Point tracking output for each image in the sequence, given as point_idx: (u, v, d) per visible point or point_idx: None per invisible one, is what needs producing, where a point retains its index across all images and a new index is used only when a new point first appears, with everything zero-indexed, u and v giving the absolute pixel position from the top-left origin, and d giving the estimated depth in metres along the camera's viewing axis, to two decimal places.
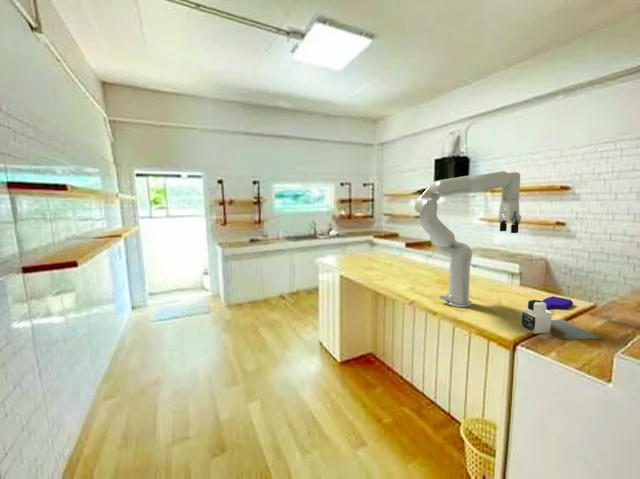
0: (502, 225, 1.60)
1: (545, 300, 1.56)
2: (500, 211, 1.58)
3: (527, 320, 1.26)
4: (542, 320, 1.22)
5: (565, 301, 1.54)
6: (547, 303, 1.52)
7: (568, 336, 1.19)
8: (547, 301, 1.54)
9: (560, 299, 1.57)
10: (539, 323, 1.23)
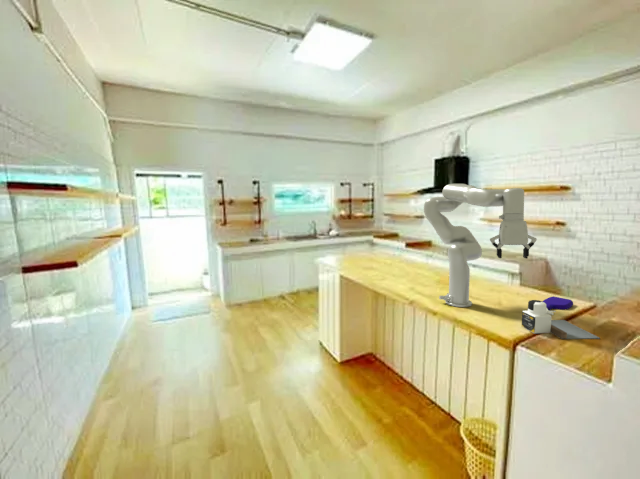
0: None
1: (546, 300, 1.55)
2: (505, 234, 1.30)
3: (527, 320, 1.26)
4: (542, 320, 1.22)
5: (565, 301, 1.53)
6: (548, 303, 1.51)
7: (568, 336, 1.19)
8: (548, 302, 1.53)
9: (560, 299, 1.57)
10: (539, 323, 1.23)
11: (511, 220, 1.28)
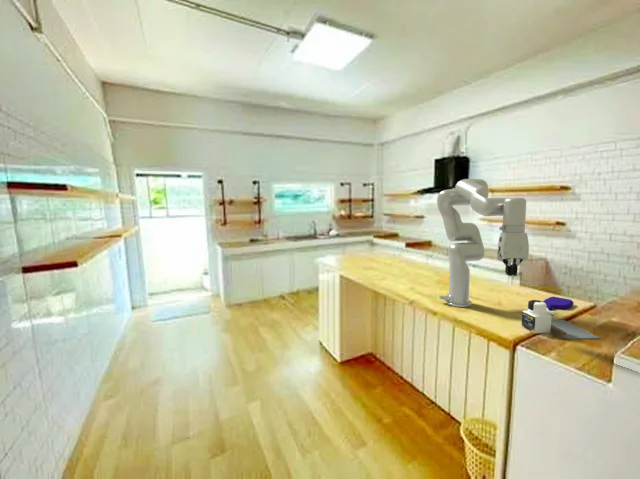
0: None
1: (546, 300, 1.55)
2: (507, 247, 1.20)
3: (527, 320, 1.26)
4: (542, 320, 1.22)
5: (566, 301, 1.53)
6: (548, 303, 1.51)
7: (568, 336, 1.19)
8: (549, 302, 1.53)
9: (560, 299, 1.56)
10: (539, 323, 1.23)
11: (514, 232, 1.19)
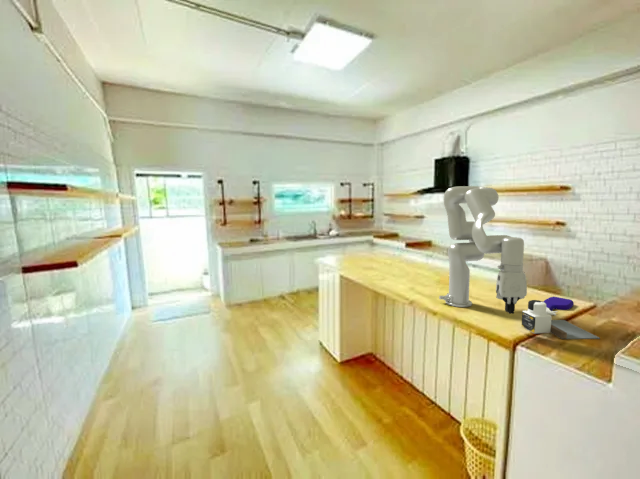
0: None
1: (547, 300, 1.55)
2: (506, 286, 1.22)
3: (527, 320, 1.26)
4: (542, 320, 1.22)
5: (566, 301, 1.53)
6: (549, 304, 1.51)
7: (568, 336, 1.19)
8: (549, 302, 1.53)
9: (561, 299, 1.56)
10: (539, 323, 1.23)
11: (512, 272, 1.21)
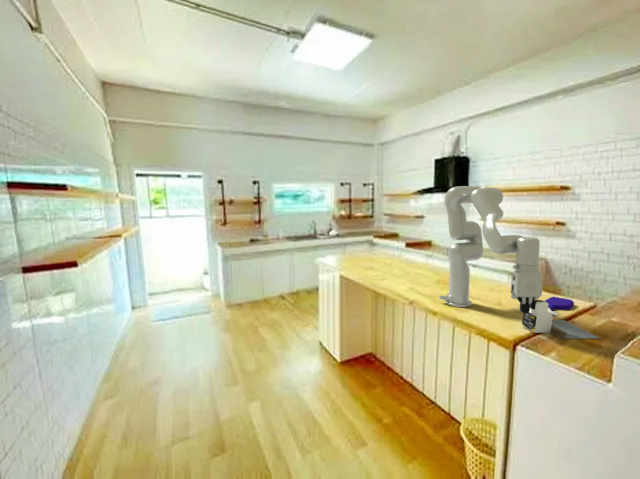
0: None
1: (547, 301, 1.55)
2: (521, 286, 1.22)
3: (528, 319, 1.26)
4: (543, 320, 1.22)
5: (566, 301, 1.53)
6: (550, 304, 1.50)
7: (568, 336, 1.19)
8: (550, 302, 1.52)
9: (561, 299, 1.56)
10: (540, 322, 1.22)
11: (528, 272, 1.20)
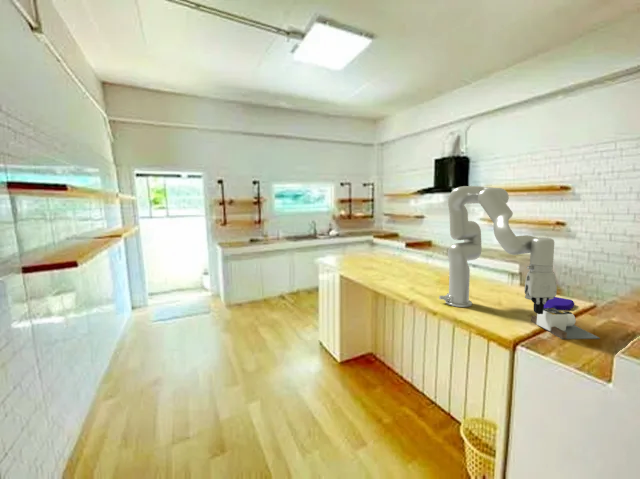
0: None
1: (548, 301, 1.54)
2: (535, 287, 1.22)
3: (553, 310, 1.27)
4: (563, 321, 1.23)
5: (567, 301, 1.53)
6: (551, 304, 1.50)
7: (568, 336, 1.19)
8: (551, 302, 1.52)
9: (561, 299, 1.56)
10: (560, 318, 1.23)
11: (542, 272, 1.20)
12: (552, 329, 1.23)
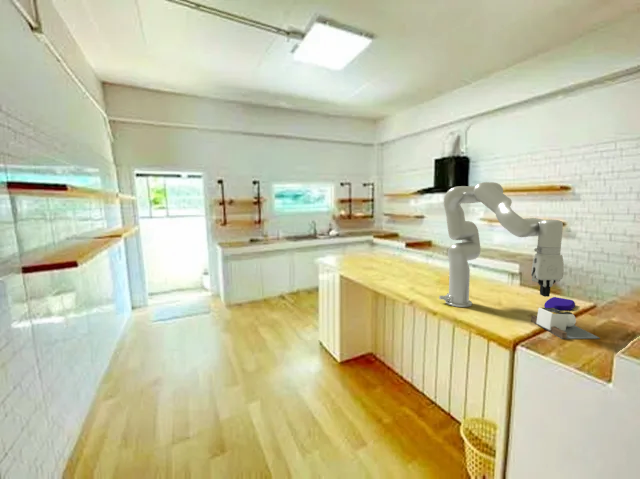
0: None
1: (549, 301, 1.54)
2: (543, 269, 1.21)
3: (553, 310, 1.27)
4: (563, 321, 1.23)
5: (568, 301, 1.53)
6: (552, 304, 1.50)
7: (568, 336, 1.19)
8: (552, 303, 1.52)
9: (562, 299, 1.56)
10: (561, 318, 1.23)
11: (550, 254, 1.20)
12: (552, 329, 1.23)
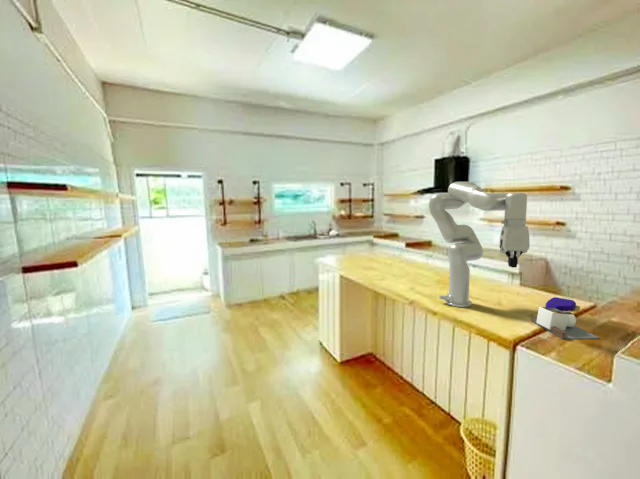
0: None
1: (550, 302, 1.53)
2: (509, 240, 1.26)
3: (554, 309, 1.27)
4: (563, 321, 1.23)
5: (569, 301, 1.52)
6: (553, 305, 1.49)
7: (568, 336, 1.19)
8: (553, 303, 1.51)
9: (563, 299, 1.55)
10: (561, 318, 1.23)
11: (515, 226, 1.24)
12: (552, 329, 1.23)
